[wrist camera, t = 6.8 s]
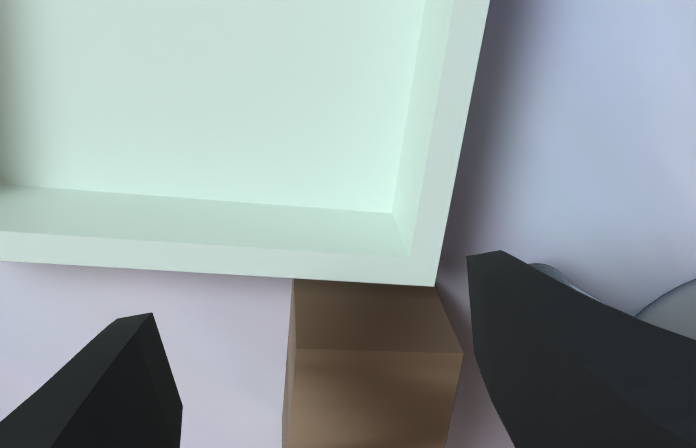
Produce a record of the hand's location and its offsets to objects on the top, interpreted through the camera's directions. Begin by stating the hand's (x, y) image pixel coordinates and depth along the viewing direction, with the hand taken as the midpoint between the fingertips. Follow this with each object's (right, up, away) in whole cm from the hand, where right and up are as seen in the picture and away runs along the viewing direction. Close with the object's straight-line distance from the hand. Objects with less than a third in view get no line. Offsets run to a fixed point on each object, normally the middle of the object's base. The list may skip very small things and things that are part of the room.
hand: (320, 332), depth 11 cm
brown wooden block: (+1, -1, +8) cm, 8 cm away
